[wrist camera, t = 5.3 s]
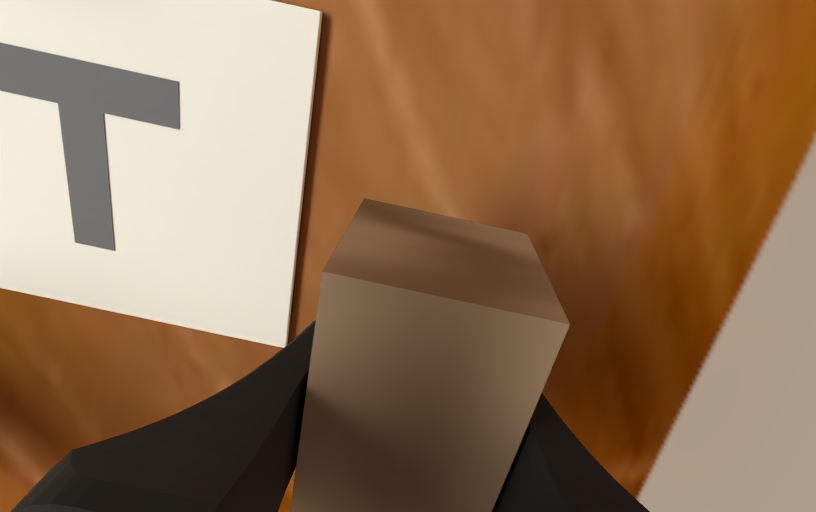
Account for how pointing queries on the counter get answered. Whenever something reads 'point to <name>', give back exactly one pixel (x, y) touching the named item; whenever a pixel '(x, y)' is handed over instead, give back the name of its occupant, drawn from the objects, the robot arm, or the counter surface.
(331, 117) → the counter surface
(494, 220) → the counter surface
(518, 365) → the walnut bar
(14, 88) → the letter mat
